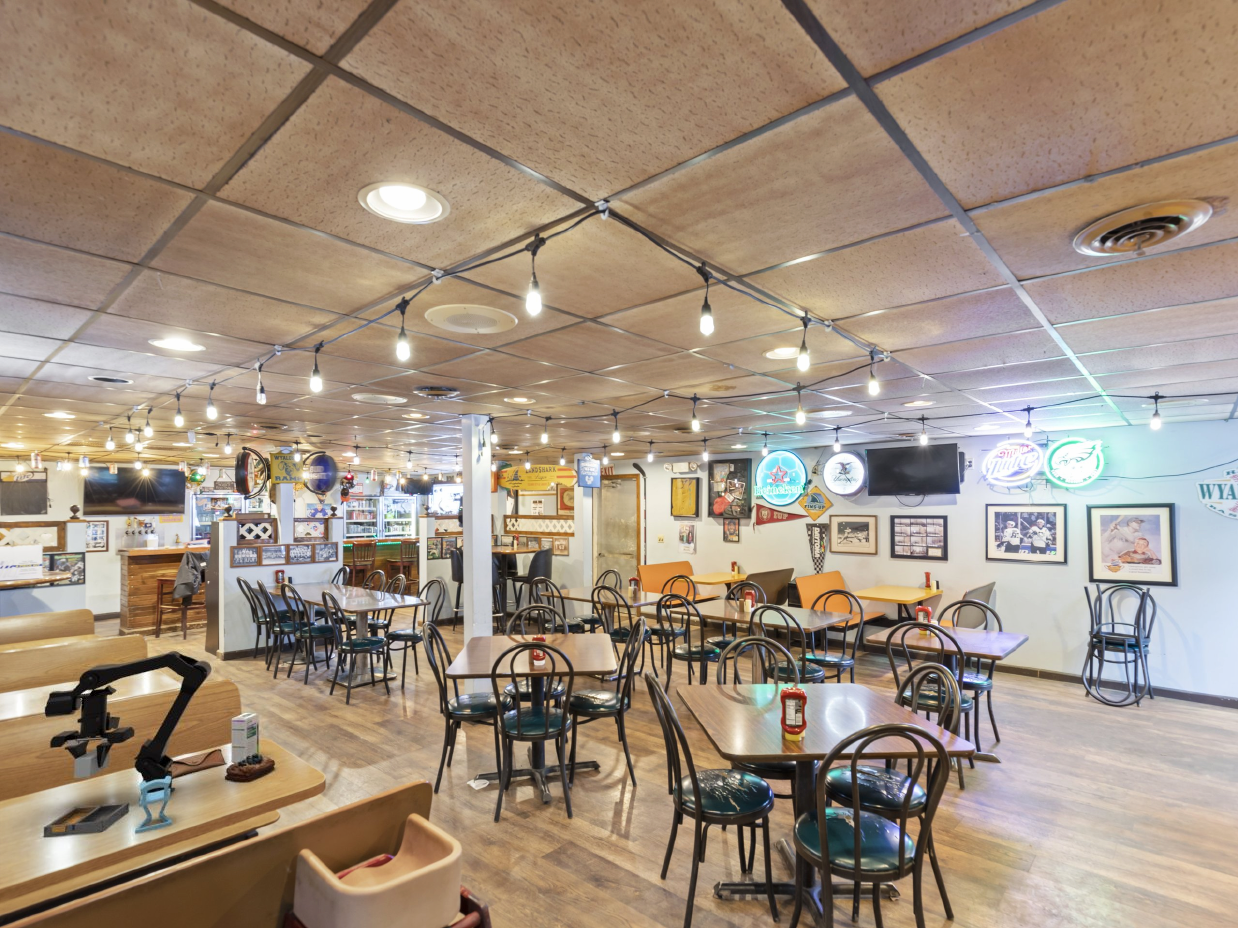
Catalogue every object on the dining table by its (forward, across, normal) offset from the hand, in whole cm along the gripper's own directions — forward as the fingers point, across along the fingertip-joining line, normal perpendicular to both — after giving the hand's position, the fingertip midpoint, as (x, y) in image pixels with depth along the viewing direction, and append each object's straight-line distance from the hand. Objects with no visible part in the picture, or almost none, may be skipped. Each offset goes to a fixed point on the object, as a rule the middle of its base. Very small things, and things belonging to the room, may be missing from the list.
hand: (92, 767), depth 179 cm
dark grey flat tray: (+11, -6, +11) cm, 17 cm away
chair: (+11, -24, +14) cm, 30 cm away
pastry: (+11, -36, -15) cm, 41 cm away
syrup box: (+11, -29, -28) cm, 42 cm away
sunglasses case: (+11, -16, -23) cm, 30 cm away
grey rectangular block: (+1, 0, 0) cm, 1 cm away
